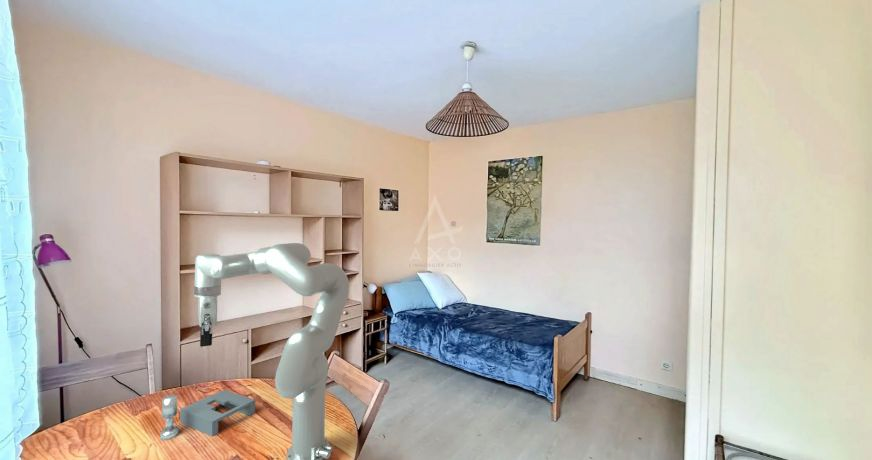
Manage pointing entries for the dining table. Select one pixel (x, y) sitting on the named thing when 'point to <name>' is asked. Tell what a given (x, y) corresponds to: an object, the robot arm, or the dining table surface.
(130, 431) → the dining table surface
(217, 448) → the dining table surface
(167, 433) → the steel peg
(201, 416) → the keyhole plate
